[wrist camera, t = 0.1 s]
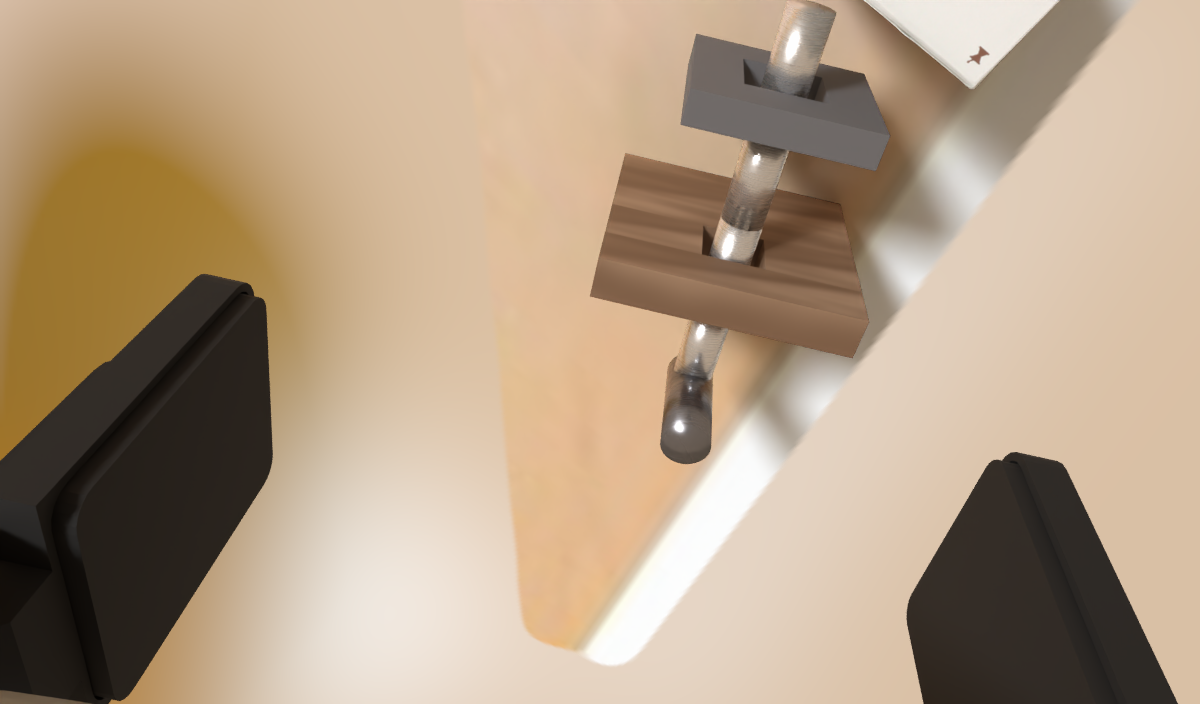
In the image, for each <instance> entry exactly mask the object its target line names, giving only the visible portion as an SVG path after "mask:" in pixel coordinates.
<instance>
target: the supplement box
mask: <svg viewBox="0 0 1200 704" xmlns="http://www.w3.org/2000/svg"><path fill="white" fill-rule="evenodd" d="M864 1H865V2H866V3H867V4H868V5H870V6H871V7H872V8H873V9H874V10H876V11H877V12H878V13H879V14H880V15H882V16H883V17H884V18H885V19H886V20H888V21H889V22H890V23H891V24H892V25H893V26H895V27H896V28H897V29H898V30H899V31H900V32H901V33H903V34H904V35H905V36H906V37H907V38H909V39H910V40H912V41H913V42H914V43H916V44H917V45H918V46H919V47H920V48H922V49H923V50H924V51H925V52H926V53H928V54H929V55H930V56H931V57H932V58H934V59H935V60H936V61H937V62H938V63H940V64H941V65H942V66H943V67H944V68H946V69H947V70H948V71H949V72H950V73H951V74H953V75H954V76H955V77H956V78H957V79H959V80H960V81H961V82H962V83H963V84H964V85H966V86H967V87H968V88H969V89H975V88H976V87H977V86H978V85H979V84H980V83H981V82H982V81H983V80H984V79H985V78H986V76H987V75H988V74H989V73H990V72H991V71H992V70H993V69H994V68H995V67H996V66H997V65H998V64H999V63H1000V62H1001V61H1002V60H1003V58H1004V57H1005V56H1006V55H1007V54H1008V53H1009V52H1010V51H1011V50H1012V49H1013V48H1014V47H1015V46H1016V45H1017V44H1018V43H1019V42H1020V41H1021V40H1022V38H1023V37H1024V36H1025V35H1026V34H1027V33H1028V32H1029V31H1030V30H1031V29H1032V28H1033V27H1034V26H1035V25H1036V24H1037V23H1038V22H1039V21H1040V20H1041V19H1042V18H1043V17H1044V16H1045V15H1046V14H1047V13H1048V12H1049V11H1050V10H1051V9H1052V8H1053V7H1054V6H1055V5H1056V4H1057V3H1058V2H1059V1H1060V0H864Z"/></svg>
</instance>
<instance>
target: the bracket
mask: <svg viewBox="0 0 1200 704" xmlns="http://www.w3.org/2000/svg"><path fill="white" fill-rule="evenodd" d="M731 181H732V179H731V178H727V177H723V176H719V175H714V174H710V173H706V172H702V171H698V170H693V169H689V168H685V167H681V166H677V165H672V164H668V163H664V162H660V161H655V160H651V159H647V158H643V157H639V156H634V155H630V154H626V153H625V157H624V161H623V165H622V169H621V173H620V177H619V181H618V184H617V188H616V192H615V196H614V200H613V204H612V208H611V212H610V216H609V219H608V223H607V227H606V231H605V235H604V239H603V243H602V247H601V251H600V254H599V258H598V263H597V267H596V272H595V276H594V281H593V285H592V290H591V294H590V297H594V298H599V299H603V300H607V301H611V302H616V303H620V304H624V305H628V306H633V307H637V308H641V309H645V310H650V311H654V312H658V313H662V314H667V315H671V316H675V317H680V318H684V319H688V320H692V321H697V322H701V323H705V324H709V325H714V326H718V327H722V328H726V329H731V330H735V331H739V332H743V333H748V334H752V335H756V336H760V337H765V338H769V339H773V340H777V341H782V342H786V343H790V344H794V345H799V346H803V347H807V348H811V349H816V350H820V351H824V352H828V353H833V354H837V355H841V356H845V357H850V358H853V356H854V354H855V352H856V349H857V347H858V345H859V343H860V341H861V338H862V336H863V334H864V332H865V330H866V327H867V325H868V323H869V319H868V315H867V311H866V307H865V303H864V299H863V295H862V290H861V286H860V282H859V278H858V274H857V270H856V266H855V262H854V258H853V254H852V250H851V246H850V242H849V238H848V234H847V230H846V226H845V222H844V218H843V214H842V210H841V205H840V204H837V203H832V202H828V201H824V200H820V199H816V198H811V197H807V196H803V195H799V194H794V193H790V192H786V191H782V190H778V189H776V191H775V194H774V197H773V200H772V203H771V206H770V209H769V212H768V215H767V218H766V220H765V223H764V226H763V229H762V232H761V235H760V238H759V241H758V244H757V247H756V250H755V253H754V256H753V258H752V261H751V264H750V266H748V265H744V264H740V263H736V262H731V261H727V260H723V259H719V258H715V257H710V256H709V253H710V250H711V246H712V243H713V240H714V237H715V233H716V230H717V227H718V224H719V220H720V217H721V214H722V211H723V207H724V204H725V201H726V198H727V194H728V191H729V188H730V185H731Z"/></svg>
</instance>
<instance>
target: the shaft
mask: <svg viewBox="0 0 1200 704" xmlns="http://www.w3.org/2000/svg"><path fill="white" fill-rule="evenodd" d="M835 16H836V12H835V11H834V10H832V9H831V8H829V7H826V6H824V5H821V4H818V3H815V2H811V1H807V0H787V3H786V6H785V9H784V13H783V16H782V19H781V22H780V26H779V29H778V32H777V35H776V39H775V42H774V45H773V48H772V52H771V55H770V58H769V61H768V65H767V68H766V71H765V74H764V78H763V81H762V84H761V87H760V88H764V89H768V90H772V91H777V92H781V93H785V94H789V95H793V96H798V97H802V98H806V99H807V98H808V95H809V92H810V89H811V86H812V83H813V80H814V77H815V74H816V71H817V69H818V66H819V63H820V60H821V57H822V54H823V51H824V48H825V45H826V42H827V39H828V36H829V33H830V31H831V28H832V25H833V22H834V19H835ZM788 153H789V150H785V149H780V148H776V147H772V146H768V145H764V144H759V143H755V142H751V141H747V140H744V142H743V146H742V149H741V152H740V155H739V159H738V162H737V165H736V168H735V172H734V175H733V178H732V181H731V185H730V188H729V191H728V194H727V198H726V201H725V204H724V207H723V211H722V214H721V217H720V220H719V224H718V227H717V230H716V233H715V237H714V240H713V243H712V246H711V250H710V253H709V256H710V257H715V258H719V259H723V260H727V261H731V262H736V263H740V264H744V265H748V266H750V264H751V261H752V258H753V256H754V253H755V250H756V247H757V244H758V241H759V238H760V235H761V232H762V229H763V226H764V223H765V220H766V218H767V215H768V212H769V209H770V206H771V203H772V200H773V197H774V194H775V191H776V188H777V185H778V183H779V180H780V177H781V174H782V171H783V168H784V165H785V162H786V159H787V156H788ZM727 332H728V329H726V328H722V327H718V326H714V325H709V324H705V323H701V322H697V321H692V320H689V321H688V324H687V327H686V331H685V334H684V337H683V340H682V344H681V347H680V350H679V353H678V356H677V357H675V358H674V359H673V360H672V361H671V362H670V364H669V366H668V371H667V381H666V391H665V402H664V412H663V422H662V432H661V443H660V445H661V449H662V451H663V453H664V454H665V455H666V456H667V457H668V458H669V459H671V460H672V461H675V462H677V463H682V464H692V463H696V462H699V461H701V460H703V459H704V458H705V457H706V456H707V455H708V454H709V452H710V450H711V431H712V392H713V372H714V370H715V367H716V364H717V361H718V358H719V355H720V352H721V349H722V346H723V343H724V340H725V337H726V334H727Z"/></svg>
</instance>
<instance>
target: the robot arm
mask: <svg viewBox="0 0 1200 704" xmlns="http://www.w3.org/2000/svg"><path fill="white" fill-rule="evenodd" d="M272 455H273V450H272V428H271V404H270V382H269V360H268V337H267V315H266V305H265V302H264V300H263V299H262V298H259V297H255V296H254V292H253V289H252V287H251V285H249V284H248V283H244V282H240V281H235V280H231V279H226V278H222V277H217V276H212V275H208V274H201V275H199V276H198V277H196V278H195V279H194V280H193V281H192V282H191V283H190V284H189V285H188V286H187V287H186V288H185V289H184V290H183V291H182V292H181V293H180V294H179V295H178V296H176V297H175V298H174V299H173V300H172V301H171V302H170V303H169V304H168V305H167V306H166V307H165V308H164V309H163V310H162V311H161V312H160V313H159V314H158V315H157V316H156V317H155V318H154V319H153V320H152V321H151V322H150V323H149V324H148V325H147V326H146V327H145V328H144V329H143V330H142V331H141V332H140V333H139V334H138V335H137V336H136V337H135V338H134V339H133V340H131V342H129V343H128V344H127V345H126V347H124V348H123V349H122V351H120V352H119V353H118V354H117V355H116V356H115V357H114V358H113V359H112V360H111V361H109V362H105V363H103V364H102V365H101V366H99V367H98V368H97V369H95V370H94V371H93V372H92V373H91V374H90V375H89V376H88V377H87V378H86V379H85V380H84V381H83V382H81V384H79V385H78V386H77V387H76V388H75V389H74V390H73V391H72V392H71V393H70V394H69V395H68V396H67V397H66V398H65V399H64V400H63V401H62V402H61V403H60V404H59V405H58V406H57V407H56V408H55V409H54V410H53V411H52V412H51V413H50V414H48V415H47V416H46V417H45V418H44V419H43V420H42V421H41V422H40V423H39V424H38V425H37V426H36V427H35V428H34V429H33V430H32V431H31V432H30V433H29V434H28V435H27V436H26V437H25V438H24V439H23V440H22V441H21V442H20V443H19V444H17V446H15V447H14V448H13V449H12V450H11V451H10V452H9V453H8V454H7V455H6V456H5V457H4V458H3V459H2V460H1V461H0V704H109V702H110V701H111V699H113V700H117V701H121V700H123V699H125V698H126V697H127V696H128V695H129V694H130V693H131V691H132V690H133V689H134V687H135V686H136V684H137V683H138V681H139V679H140V678H141V676H142V675H143V673H144V672H145V670H146V669H147V667H148V665H149V664H150V662H151V661H152V659H153V658H154V656H155V654H156V653H157V651H158V650H159V648H160V647H161V645H162V643H163V642H164V640H165V639H166V637H167V636H168V634H169V632H170V631H171V629H172V628H173V626H174V625H175V623H176V621H177V620H178V618H179V617H180V615H181V614H182V612H183V610H184V609H185V607H186V606H187V604H188V603H189V601H190V599H191V598H192V596H193V595H194V593H195V592H196V590H197V588H198V587H199V585H200V584H201V582H202V580H203V579H204V578H205V576H206V574H207V573H208V571H209V570H210V568H211V566H212V565H213V563H214V562H215V560H216V559H217V557H218V556H219V554H220V552H221V551H222V549H223V548H224V546H225V545H226V543H227V541H228V540H229V538H230V537H231V535H232V534H233V532H234V531H235V529H236V527H237V526H238V524H239V523H240V521H241V519H242V518H243V516H244V515H245V513H246V512H247V510H248V508H249V507H250V505H251V504H252V502H253V501H254V499H255V498H256V496H257V494H258V493H259V491H260V490H261V488H262V486H263V485H264V483H265V481H266V479H267V477H268V475H269V472H270V469H271V464H272V457H273V456H272ZM907 626H908V630H909V635H910V640H911V645H912V649H913V655H914V659H915V664H916V669H917V674H918V679H919V684H920V688H921V693H922V698H923V702H924V704H1178V703H1177V701H1176V699H1175V697H1174V694H1173V693H1172V690H1171V688H1170V686H1169V684H1168V682H1167V680H1166V678H1165V676H1164V674H1163V671H1162V669H1161V667H1160V665H1159V663H1158V661H1157V659H1156V657H1155V655H1154V653H1153V651H1152V648H1151V646H1150V644H1149V642H1148V640H1147V638H1146V636H1145V634H1144V632H1143V629H1142V627H1141V625H1140V623H1139V621H1138V619H1137V617H1136V615H1135V613H1134V611H1133V608H1132V606H1131V604H1130V602H1129V600H1128V598H1127V596H1126V594H1125V592H1124V590H1123V587H1122V585H1121V583H1120V581H1119V579H1118V577H1117V575H1116V573H1115V571H1114V569H1113V566H1112V564H1111V562H1110V560H1109V558H1108V556H1107V554H1106V552H1105V550H1104V548H1103V545H1102V543H1101V541H1100V539H1099V537H1098V535H1097V533H1096V531H1095V529H1094V526H1093V524H1092V522H1091V520H1090V518H1089V516H1088V514H1087V512H1086V510H1085V508H1084V505H1083V503H1082V501H1081V499H1080V497H1079V495H1078V493H1077V491H1076V489H1075V487H1074V485H1073V482H1072V480H1071V478H1070V476H1069V474H1068V472H1067V470H1066V468H1065V467H1064V465H1063V464H1062V463H1060V462H1058V461H1054V460H1049V459H1045V458H1041V457H1036V456H1031V455H1027V454H1022V453H1018V452H1013V453H1010V454H1008V455H1007V456H1005V458H1004V459H1003V460H1002V461H1001V460H993V461H991V462H990V463H989V465H988V466H987V467H986V468H985V470H984V472H983V474H982V475H981V477H980V479H979V480H978V482H977V484H976V485H975V487H974V489H973V491H972V492H971V494H970V496H969V498H968V499H967V501H966V503H965V504H964V506H963V508H962V509H961V511H960V513H959V514H958V516H957V518H956V519H955V521H954V523H953V525H952V526H951V528H950V530H949V532H948V533H947V535H946V537H945V538H944V540H943V542H942V543H941V545H940V547H939V548H938V550H937V552H936V554H935V555H934V557H933V559H932V560H931V562H930V564H929V565H928V567H927V569H926V571H925V572H924V574H923V576H922V577H921V579H920V581H919V582H918V584H917V586H916V588H915V589H914V591H913V593H912V595H911V597H910V599H909V603H908V608H907Z"/></svg>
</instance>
